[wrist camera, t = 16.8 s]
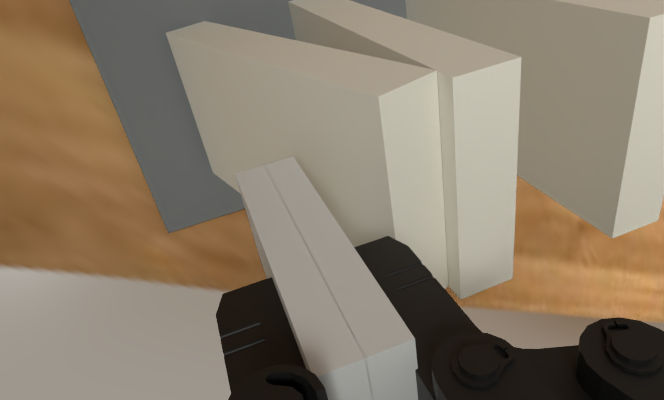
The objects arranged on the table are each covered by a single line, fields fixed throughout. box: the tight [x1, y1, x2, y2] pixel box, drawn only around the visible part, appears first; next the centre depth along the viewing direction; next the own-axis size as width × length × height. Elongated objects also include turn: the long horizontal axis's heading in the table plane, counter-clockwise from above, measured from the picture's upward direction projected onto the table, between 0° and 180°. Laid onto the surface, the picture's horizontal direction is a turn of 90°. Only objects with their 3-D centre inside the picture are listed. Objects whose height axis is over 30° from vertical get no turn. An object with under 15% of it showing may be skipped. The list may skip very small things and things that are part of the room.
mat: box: [69, 0, 407, 233], centre depth 22 cm, size 27×11×1 cm, turn 100°
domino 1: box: [166, 21, 448, 289], centre depth 16 cm, size 2×6×12 cm, turn 10°
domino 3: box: [405, 0, 664, 238], centre depth 17 cm, size 2×6×12 cm, turn 10°
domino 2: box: [288, 0, 522, 300], centre depth 16 cm, size 2×6×12 cm, turn 10°
